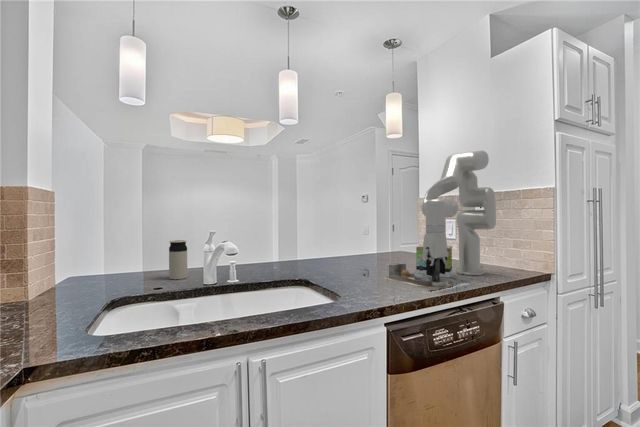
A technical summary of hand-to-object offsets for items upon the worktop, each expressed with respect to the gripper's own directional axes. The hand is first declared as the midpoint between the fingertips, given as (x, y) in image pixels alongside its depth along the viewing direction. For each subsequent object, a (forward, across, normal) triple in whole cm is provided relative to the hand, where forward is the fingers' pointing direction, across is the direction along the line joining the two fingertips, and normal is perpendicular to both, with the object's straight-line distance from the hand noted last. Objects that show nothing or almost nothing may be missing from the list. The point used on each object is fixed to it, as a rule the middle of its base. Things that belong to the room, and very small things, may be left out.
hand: (435, 274), depth 129 cm
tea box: (+6, -19, -15) cm, 25 cm away
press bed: (+6, 0, -10) cm, 11 cm away
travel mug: (+6, +82, -84) cm, 118 cm away
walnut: (+4, 0, -16) cm, 17 cm away
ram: (+4, 0, -3) cm, 5 cm away
